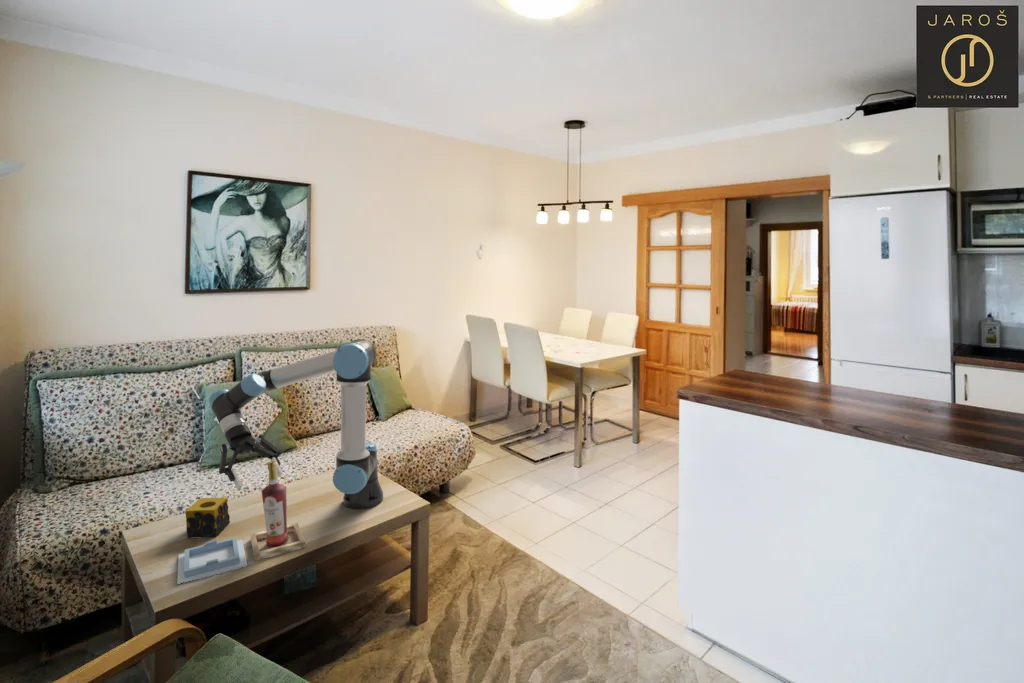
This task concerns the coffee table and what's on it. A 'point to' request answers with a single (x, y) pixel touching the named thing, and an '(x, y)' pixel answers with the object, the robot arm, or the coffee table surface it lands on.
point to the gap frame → (280, 549)
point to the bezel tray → (211, 559)
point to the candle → (207, 517)
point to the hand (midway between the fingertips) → (260, 481)
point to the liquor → (275, 508)
